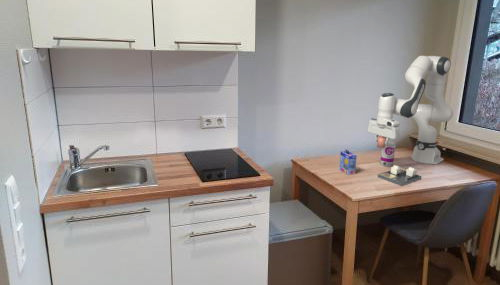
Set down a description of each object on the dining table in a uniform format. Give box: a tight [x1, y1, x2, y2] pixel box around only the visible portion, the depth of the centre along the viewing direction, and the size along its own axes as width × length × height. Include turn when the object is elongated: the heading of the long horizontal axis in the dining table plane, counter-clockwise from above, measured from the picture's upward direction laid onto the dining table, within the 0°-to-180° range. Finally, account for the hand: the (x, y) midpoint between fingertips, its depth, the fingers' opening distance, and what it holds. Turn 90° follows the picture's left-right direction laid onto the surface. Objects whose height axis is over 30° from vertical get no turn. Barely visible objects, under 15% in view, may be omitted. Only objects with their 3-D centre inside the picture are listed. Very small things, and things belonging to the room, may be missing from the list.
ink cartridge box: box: [338, 148, 357, 176], centre depth 225 cm, size 10×6×14 cm, turn 20°
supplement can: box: [379, 141, 396, 167], centre depth 240 cm, size 8×8×15 cm
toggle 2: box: [405, 166, 418, 176], centre depth 216 cm, size 4×4×5 cm
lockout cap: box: [376, 136, 387, 149], centre depth 220 cm, size 5×5×7 cm
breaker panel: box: [377, 169, 422, 186], centre depth 217 cm, size 20×16×3 cm
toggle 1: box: [390, 164, 402, 175], centre depth 219 cm, size 4×4×5 cm
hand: (381, 143), depth 220 cm, fingers closed on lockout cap, 5 cm apart
